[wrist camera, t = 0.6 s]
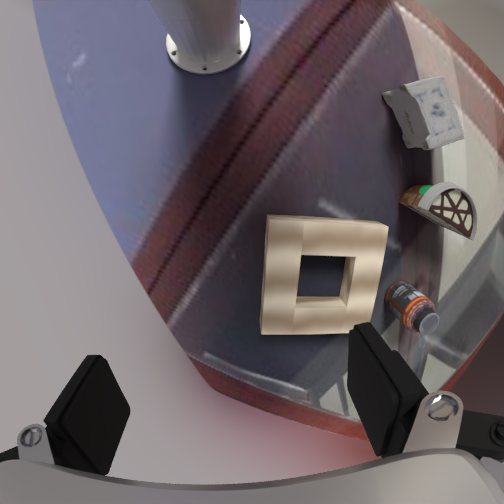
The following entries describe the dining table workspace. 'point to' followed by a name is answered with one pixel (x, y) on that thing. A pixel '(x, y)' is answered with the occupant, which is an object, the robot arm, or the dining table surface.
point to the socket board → (324, 244)
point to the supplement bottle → (412, 308)
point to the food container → (444, 206)
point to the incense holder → (425, 113)
